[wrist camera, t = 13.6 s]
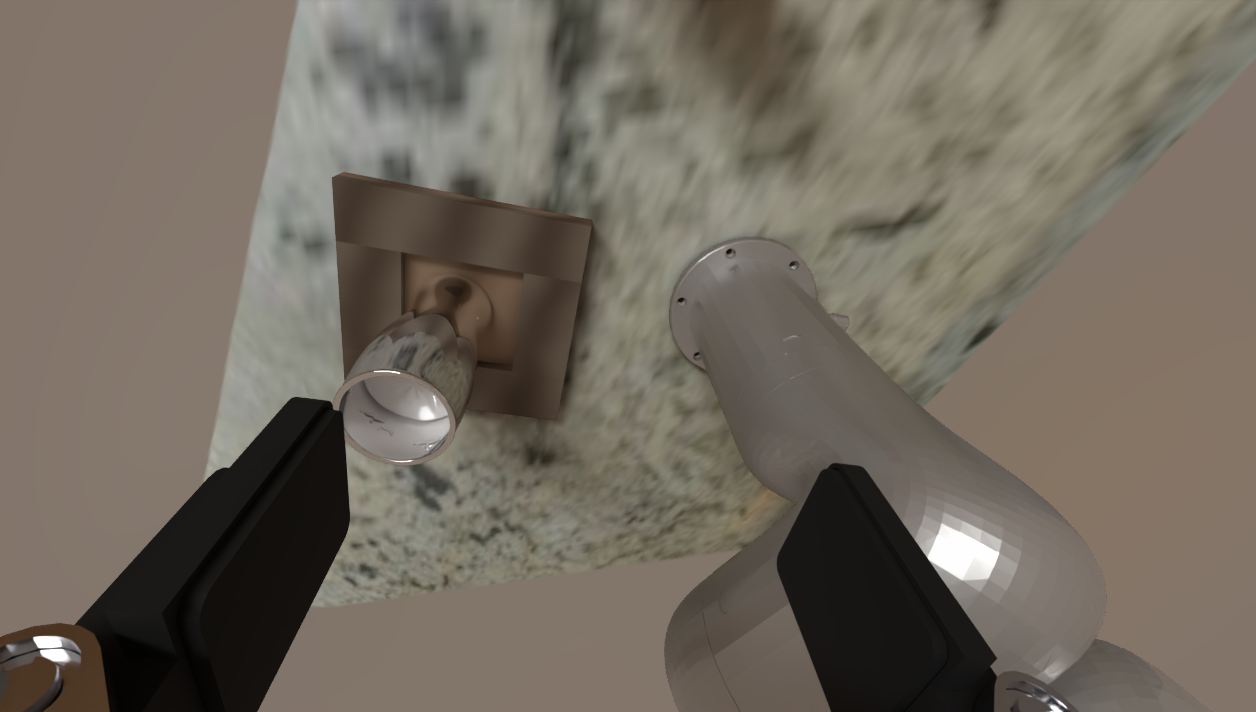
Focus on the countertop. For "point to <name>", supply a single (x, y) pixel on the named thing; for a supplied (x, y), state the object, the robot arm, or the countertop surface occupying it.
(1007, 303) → the countertop surface
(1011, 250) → the countertop surface
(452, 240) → the coaster board
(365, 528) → the countertop surface
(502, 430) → the countertop surface
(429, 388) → the beer glass
